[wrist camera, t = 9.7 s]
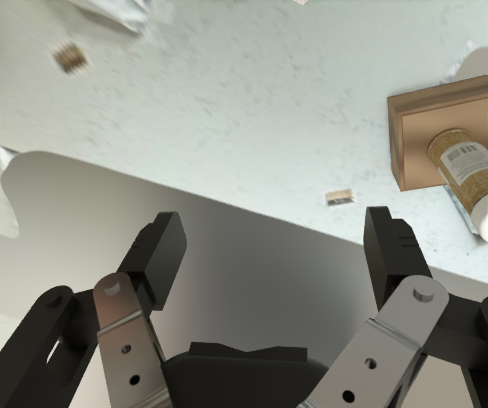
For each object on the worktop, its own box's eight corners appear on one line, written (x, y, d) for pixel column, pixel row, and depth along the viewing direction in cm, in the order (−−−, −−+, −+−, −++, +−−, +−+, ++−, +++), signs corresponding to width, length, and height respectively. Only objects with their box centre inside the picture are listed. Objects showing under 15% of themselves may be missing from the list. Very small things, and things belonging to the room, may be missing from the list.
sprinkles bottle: (426, 168, 37) (477, 251, 26) (427, 131, 34) (483, 205, 24) (472, 161, 36) (546, 245, 25) (476, 122, 33) (560, 196, 22)
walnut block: (387, 97, 38) (398, 113, 34) (486, 74, 35) (511, 89, 31) (391, 171, 43) (401, 193, 39) (478, 156, 40) (499, 177, 36)
